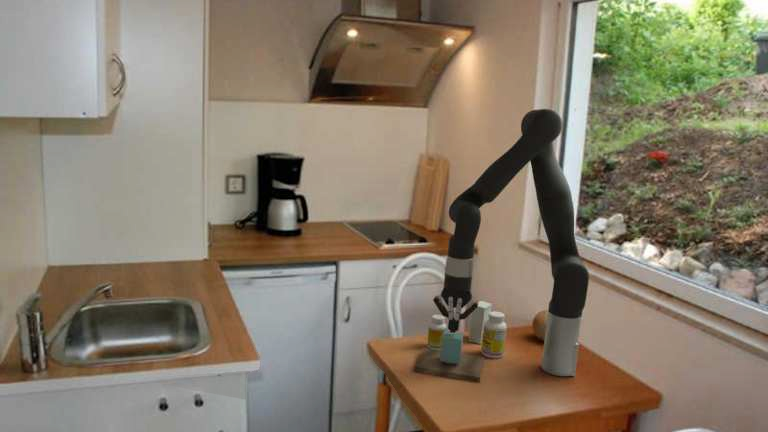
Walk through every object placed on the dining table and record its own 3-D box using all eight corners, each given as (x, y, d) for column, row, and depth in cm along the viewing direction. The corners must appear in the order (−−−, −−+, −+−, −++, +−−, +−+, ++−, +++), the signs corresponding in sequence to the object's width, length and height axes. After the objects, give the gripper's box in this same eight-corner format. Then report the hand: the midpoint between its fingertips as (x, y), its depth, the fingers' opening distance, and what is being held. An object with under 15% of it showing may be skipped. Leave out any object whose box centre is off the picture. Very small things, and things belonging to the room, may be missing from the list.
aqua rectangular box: (461, 356, 184) (463, 333, 183) (459, 364, 179) (461, 339, 178) (442, 353, 186) (444, 330, 184) (439, 360, 180) (442, 336, 179)
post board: (483, 362, 188) (484, 357, 187) (479, 382, 174) (479, 377, 174) (422, 352, 191) (423, 348, 191) (414, 371, 178) (414, 366, 178)
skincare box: (480, 344, 201) (484, 308, 199) (468, 341, 203) (471, 304, 201) (488, 339, 206) (492, 303, 204) (476, 335, 208) (479, 300, 206)
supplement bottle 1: (443, 351, 194) (446, 320, 192) (425, 349, 194) (428, 318, 193) (445, 345, 199) (448, 315, 197) (428, 342, 200) (430, 312, 198)
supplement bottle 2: (477, 350, 196) (481, 310, 194) (497, 349, 198) (501, 309, 196) (486, 359, 190) (491, 318, 187) (507, 358, 192) (511, 317, 189)
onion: (545, 347, 202) (549, 317, 200) (524, 336, 211) (527, 307, 209) (568, 343, 207) (571, 314, 205) (546, 332, 215) (550, 304, 213)
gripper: (484, 272, 180) (477, 330, 183) (437, 265, 183) (431, 323, 186) (481, 279, 173) (475, 340, 176) (432, 272, 175) (427, 332, 179)
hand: (452, 331), depth 181 cm, fingers closed
